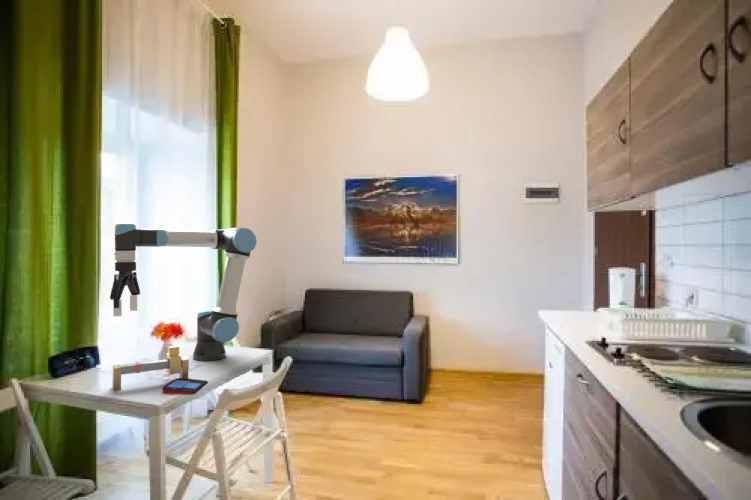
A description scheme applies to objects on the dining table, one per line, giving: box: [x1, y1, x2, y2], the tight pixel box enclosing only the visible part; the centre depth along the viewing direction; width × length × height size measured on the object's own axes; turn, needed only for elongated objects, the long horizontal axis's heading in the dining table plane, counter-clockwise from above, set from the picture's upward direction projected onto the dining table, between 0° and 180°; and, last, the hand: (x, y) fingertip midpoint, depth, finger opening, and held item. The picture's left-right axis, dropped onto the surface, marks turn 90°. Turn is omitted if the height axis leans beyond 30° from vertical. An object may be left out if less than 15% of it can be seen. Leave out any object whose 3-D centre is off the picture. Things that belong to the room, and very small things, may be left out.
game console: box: [161, 377, 209, 395], centre depth 170 cm, size 14×13×2 cm
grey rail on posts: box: [111, 356, 190, 392], centre depth 174 cm, size 26×5×9 cm, turn 125°
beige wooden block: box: [166, 345, 182, 375], centre depth 179 cm, size 4×7×10 cm, turn 35°
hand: (125, 313), depth 179 cm, fingers open, 13 cm apart
